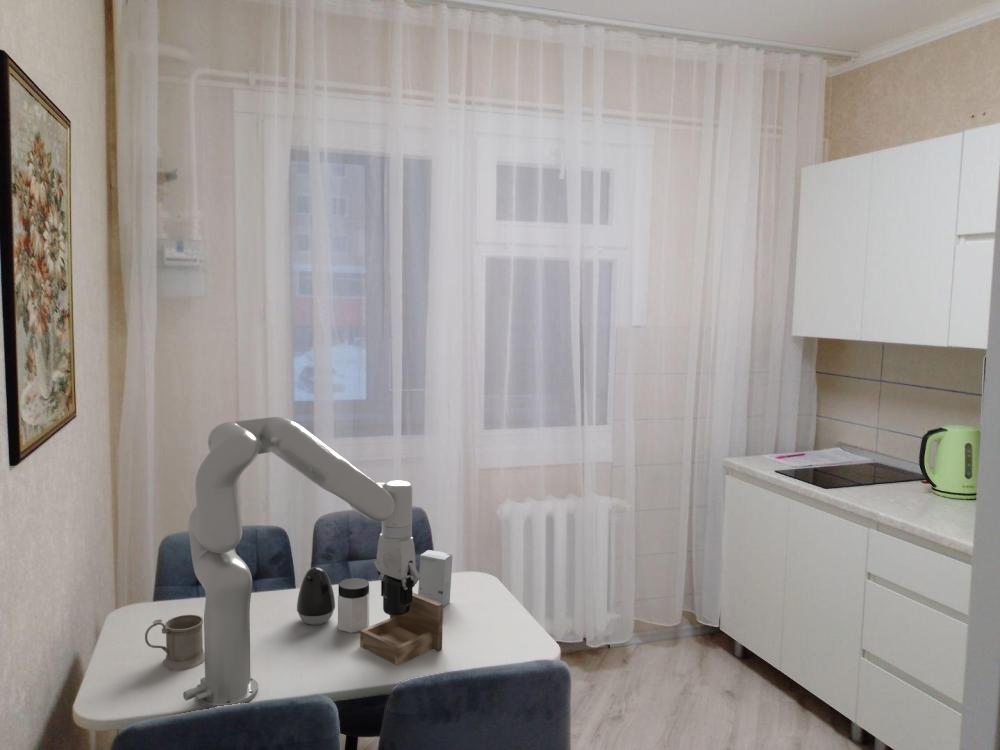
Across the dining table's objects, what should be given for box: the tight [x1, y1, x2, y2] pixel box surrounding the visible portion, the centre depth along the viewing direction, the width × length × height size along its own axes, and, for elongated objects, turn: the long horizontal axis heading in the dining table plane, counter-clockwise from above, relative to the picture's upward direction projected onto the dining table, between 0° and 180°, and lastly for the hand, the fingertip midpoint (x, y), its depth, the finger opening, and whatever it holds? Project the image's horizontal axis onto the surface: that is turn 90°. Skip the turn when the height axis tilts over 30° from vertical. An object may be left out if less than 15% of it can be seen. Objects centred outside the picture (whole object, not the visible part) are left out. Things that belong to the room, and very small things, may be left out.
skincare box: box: [417, 549, 454, 608], centre depth 218 cm, size 8×6×15 cm
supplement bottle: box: [382, 575, 410, 616], centre depth 189 cm, size 7×7×12 cm
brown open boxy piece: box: [359, 591, 444, 667], centre depth 190 cm, size 13×18×12 cm
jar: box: [337, 577, 370, 634], centre depth 202 cm, size 9×8×12 cm
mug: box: [144, 614, 205, 671], centre depth 179 cm, size 14×10×12 cm
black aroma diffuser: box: [296, 566, 336, 626], centre depth 204 cm, size 10×10×15 cm
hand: (396, 598), depth 189 cm, fingers closed on supplement bottle, 6 cm apart
